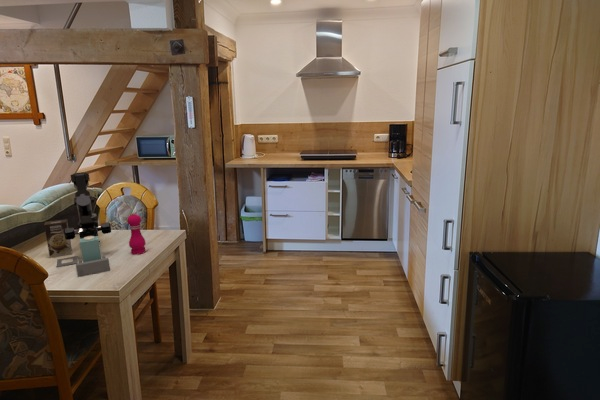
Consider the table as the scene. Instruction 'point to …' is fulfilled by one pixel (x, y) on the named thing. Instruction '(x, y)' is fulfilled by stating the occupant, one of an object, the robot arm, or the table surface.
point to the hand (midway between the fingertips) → (90, 247)
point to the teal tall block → (90, 248)
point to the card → (67, 261)
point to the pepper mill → (136, 234)
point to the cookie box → (57, 238)
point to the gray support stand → (92, 267)
